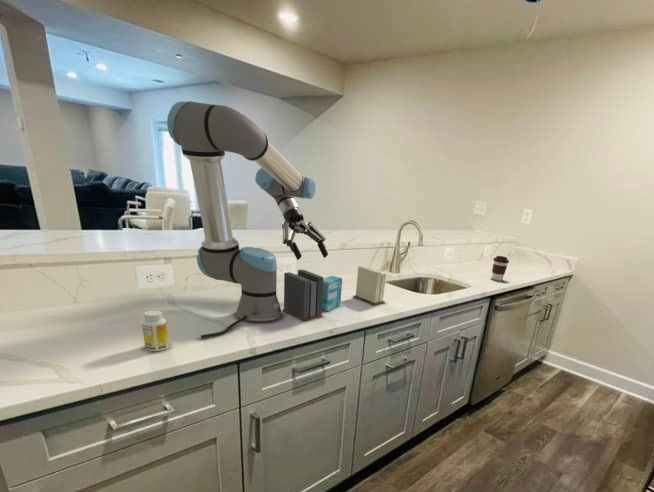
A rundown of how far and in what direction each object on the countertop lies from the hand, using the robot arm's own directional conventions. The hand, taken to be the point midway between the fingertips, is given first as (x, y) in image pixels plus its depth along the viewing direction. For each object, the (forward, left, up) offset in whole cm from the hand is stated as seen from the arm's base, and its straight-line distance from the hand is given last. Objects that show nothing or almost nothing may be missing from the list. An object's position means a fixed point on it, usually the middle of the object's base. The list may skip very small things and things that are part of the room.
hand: (313, 257), depth 156 cm
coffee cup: (+137, -20, -18) cm, 140 cm away
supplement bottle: (-66, -15, -18) cm, 70 cm away
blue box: (0, -11, -18) cm, 22 cm away
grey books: (-14, -12, -18) cm, 26 cm away
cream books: (+23, -12, -18) cm, 32 cm away
